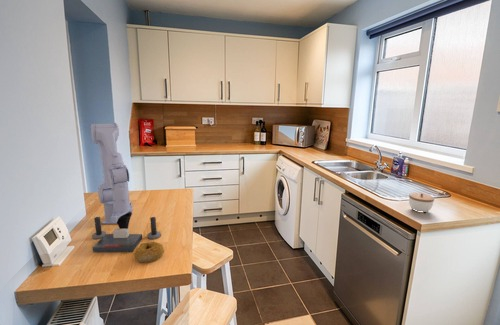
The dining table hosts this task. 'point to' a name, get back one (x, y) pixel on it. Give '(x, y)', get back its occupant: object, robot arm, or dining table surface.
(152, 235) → the cable post
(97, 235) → the cable post
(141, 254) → the bagel
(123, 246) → the breaker block
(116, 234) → the breaker paddle
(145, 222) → the dining table surface
